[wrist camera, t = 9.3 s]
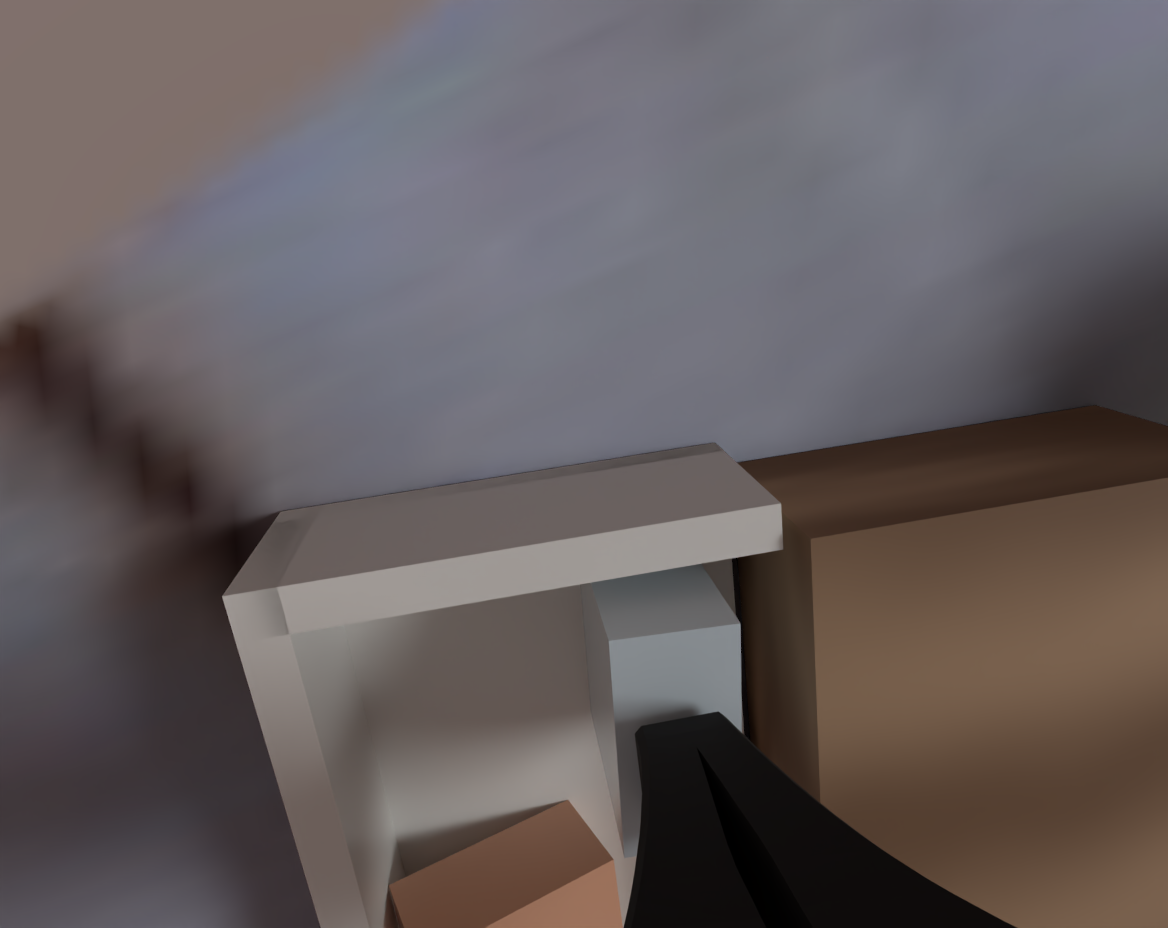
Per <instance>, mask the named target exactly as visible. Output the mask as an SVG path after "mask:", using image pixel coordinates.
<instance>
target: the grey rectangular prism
mask: <svg viewBox="0 0 1168 928" xmlns="http://www.w3.org/2000/svg"><path fill="white" fill-rule="evenodd" d="M580 589H581V601H582V613H583V625H584V637H585V649H586V661H587V674H588V686H589V698H590V710H591V716H592V720H593V724H594V729H595V733H596V737H597V742H598V746H599V750H600V755H601V759H602V763H603V768H604V772H605V776H606V781H607V785H608V789H609V794H610V798H611V802H612V807H613V811H614V815H615V820H616V824H617V828H618V833H619V837H620V841H621V846H622V850H623V854H624V858H628V857H634V856H637V849H638V842H639V834H640V823H641V803H642V789H641V781H640V773H639V765H638V757H637V749H636V740H635V733H636V731H637V730H638V729H639V728H640V727H641V726H643V725H649V724H654V723H659V722H665V721H670V720H675V719H680V718H686V717H691V716H696V715H702V714H707V713H712V712H717V711H719V712H720V713H721V714H723V715H724V716H725V717H727V719H728V720H729V721H730V722H731V723H732V724H733V725H734V726H735V727H736V728H737V729H738V730H740V731H741V732H742V694H741V624H740V622H739V620H738V619H737V617H736V616H735V614H734V613H733V611H732V610H731V608H730V607H729V605H728V604H727V602H726V601H725V599H724V598H723V596H722V595H721V593H720V592H719V590H718V588H717V587H716V585H715V584H714V582H713V581H712V579H711V578H710V576H709V575H708V573H707V572H706V570H705V569H704V567H703V566H702V564H696V565H690V566H685V567H679V568H673V569H667V570H661V571H655V572H650V573H644V574H638V575H632V576H626V577H621V578H615V579H609V580H603V581H597V582H592V583H586V584H580Z"/></svg>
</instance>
